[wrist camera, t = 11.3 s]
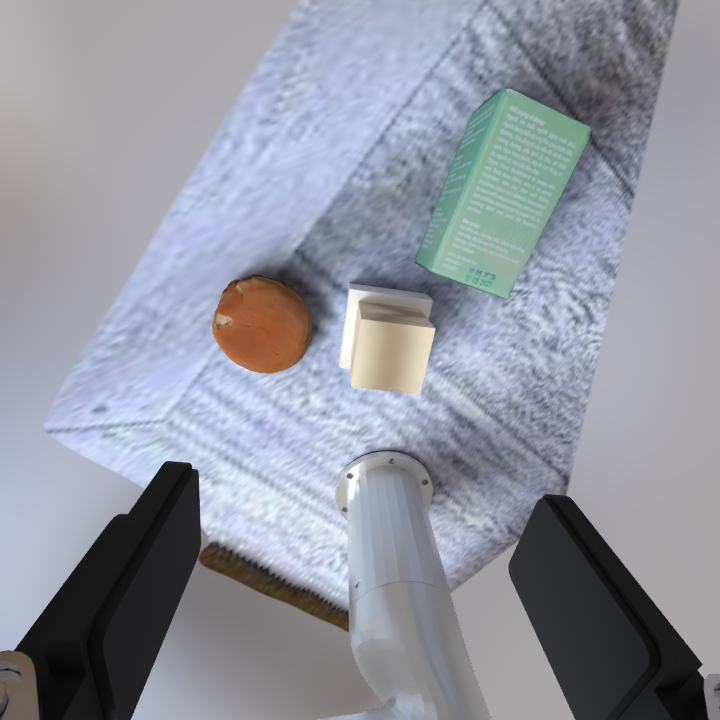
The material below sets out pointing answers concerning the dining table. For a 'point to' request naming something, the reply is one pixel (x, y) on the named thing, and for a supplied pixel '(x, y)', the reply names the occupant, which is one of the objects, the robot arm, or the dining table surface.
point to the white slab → (379, 297)
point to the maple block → (390, 348)
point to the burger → (262, 324)
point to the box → (501, 191)
